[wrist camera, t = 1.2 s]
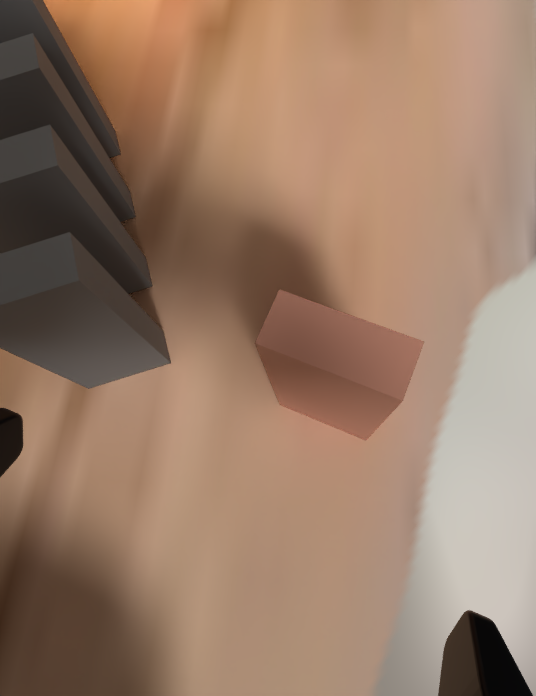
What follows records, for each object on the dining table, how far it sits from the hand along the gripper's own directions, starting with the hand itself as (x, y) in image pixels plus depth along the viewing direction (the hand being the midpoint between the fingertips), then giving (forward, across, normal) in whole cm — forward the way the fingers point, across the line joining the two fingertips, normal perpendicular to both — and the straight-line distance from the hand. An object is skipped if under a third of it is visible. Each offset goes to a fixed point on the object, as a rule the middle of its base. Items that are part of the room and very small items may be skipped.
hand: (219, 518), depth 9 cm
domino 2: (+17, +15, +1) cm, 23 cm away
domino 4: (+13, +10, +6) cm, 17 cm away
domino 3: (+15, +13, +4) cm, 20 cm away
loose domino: (+14, -1, +5) cm, 15 cm away
